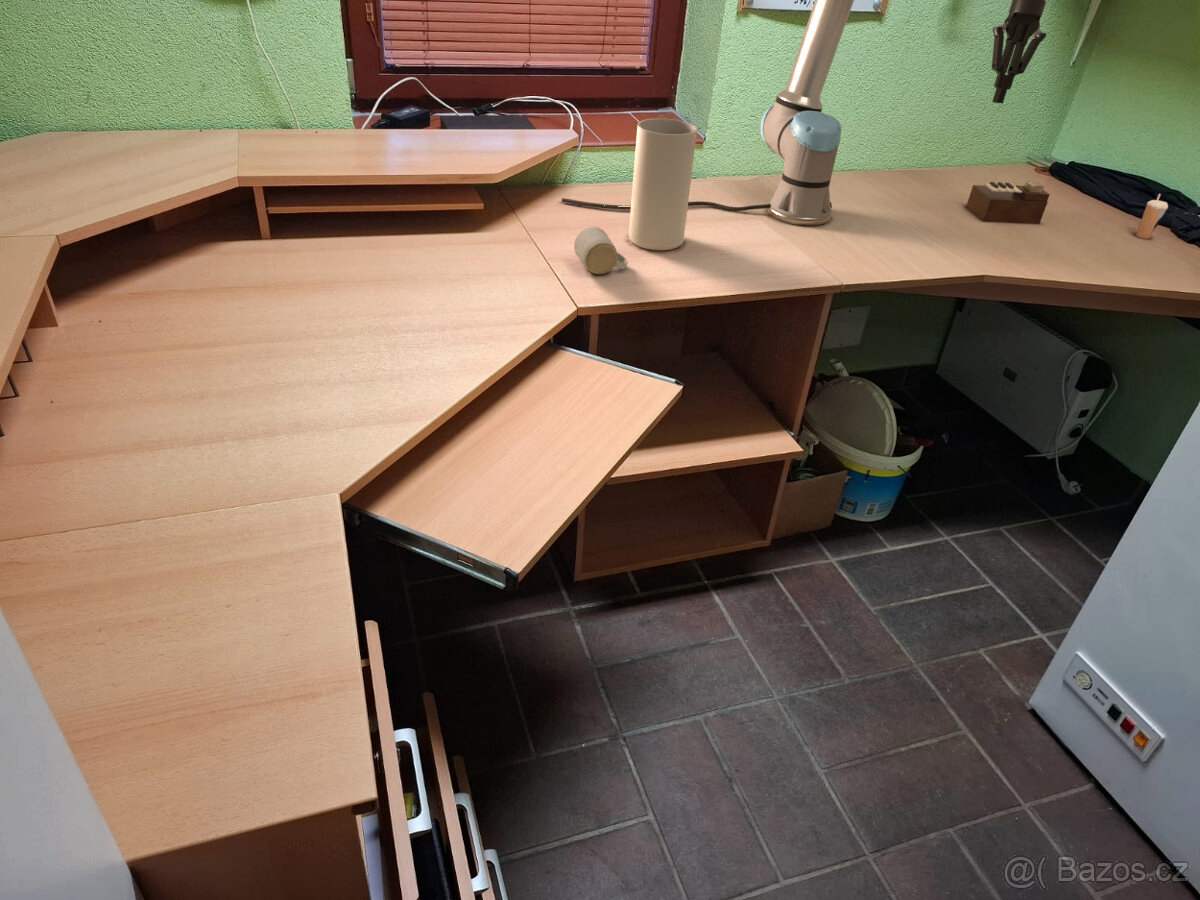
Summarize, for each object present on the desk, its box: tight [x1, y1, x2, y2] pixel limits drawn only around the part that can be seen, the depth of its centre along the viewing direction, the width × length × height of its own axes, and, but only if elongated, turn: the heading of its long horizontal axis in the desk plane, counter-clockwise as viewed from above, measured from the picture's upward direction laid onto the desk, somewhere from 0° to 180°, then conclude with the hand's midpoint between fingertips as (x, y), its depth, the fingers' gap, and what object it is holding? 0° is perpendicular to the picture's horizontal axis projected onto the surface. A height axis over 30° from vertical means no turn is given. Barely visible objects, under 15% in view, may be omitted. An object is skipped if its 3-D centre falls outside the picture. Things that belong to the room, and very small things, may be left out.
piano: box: [965, 184, 1051, 225], centre depth 210 cm, size 15×11×8 cm
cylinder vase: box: [628, 118, 698, 251], centre depth 177 cm, size 12×12×25 cm
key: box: [1023, 181, 1045, 193], centre depth 206 cm, size 3×3×2 cm
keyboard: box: [983, 181, 1022, 193], centre depth 206 cm, size 8×5×1 cm
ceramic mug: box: [573, 226, 629, 275], centre depth 168 cm, size 11×8×8 cm
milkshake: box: [1135, 193, 1169, 240], centre depth 203 cm, size 5×5×10 cm
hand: (997, 102), depth 206 cm, fingers closed
